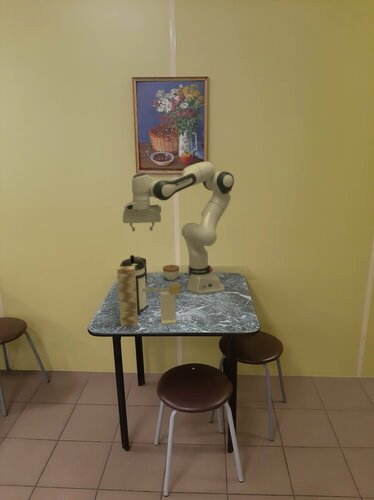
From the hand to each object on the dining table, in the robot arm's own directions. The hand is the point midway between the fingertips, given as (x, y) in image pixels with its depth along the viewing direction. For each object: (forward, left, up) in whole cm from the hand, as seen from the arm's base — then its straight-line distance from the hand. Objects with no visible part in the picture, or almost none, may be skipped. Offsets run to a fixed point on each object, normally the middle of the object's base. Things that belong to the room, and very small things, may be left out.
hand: (142, 230), depth 191 cm
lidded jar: (-17, -28, -39) cm, 51 cm away
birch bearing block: (+8, +29, -39) cm, 49 cm away
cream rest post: (-11, +29, -39) cm, 50 cm away
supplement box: (+3, -25, -39) cm, 47 cm away
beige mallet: (-8, +29, -24) cm, 39 cm away
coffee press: (+6, +16, -39) cm, 43 cm away
